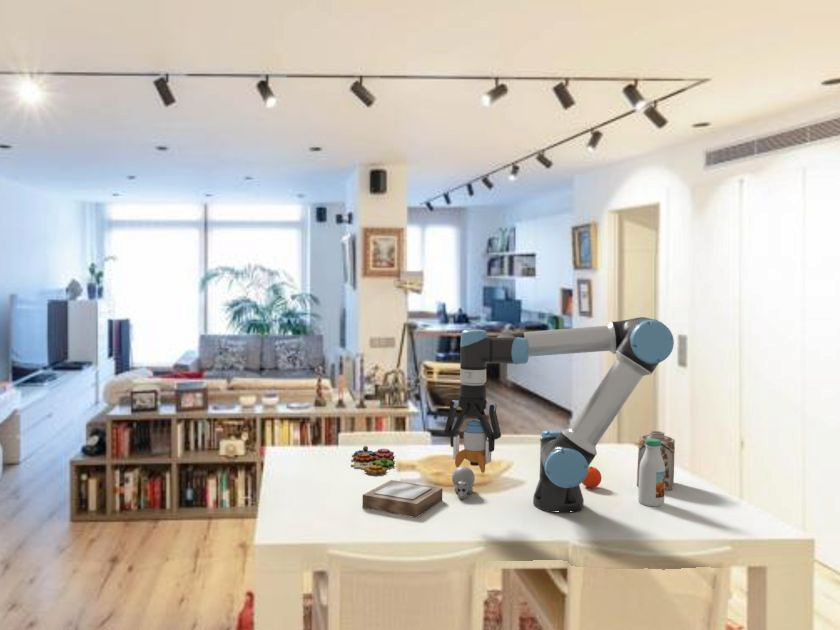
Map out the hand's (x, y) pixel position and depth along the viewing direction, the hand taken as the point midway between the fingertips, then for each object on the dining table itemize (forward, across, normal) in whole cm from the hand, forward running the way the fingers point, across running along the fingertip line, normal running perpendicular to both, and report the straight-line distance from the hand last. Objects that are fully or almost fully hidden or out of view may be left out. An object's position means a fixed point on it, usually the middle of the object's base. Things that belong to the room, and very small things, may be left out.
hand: (472, 460), depth 216 cm
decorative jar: (+17, +43, +60) cm, 76 cm away
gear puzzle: (+17, -54, +36) cm, 67 cm away
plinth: (+16, -22, 0) cm, 28 cm away
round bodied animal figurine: (+17, -10, +17) cm, 26 cm away
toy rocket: (+2, 0, 0) cm, 2 cm away
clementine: (+17, +24, +46) cm, 54 cm away
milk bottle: (+17, +45, +38) cm, 61 cm away
